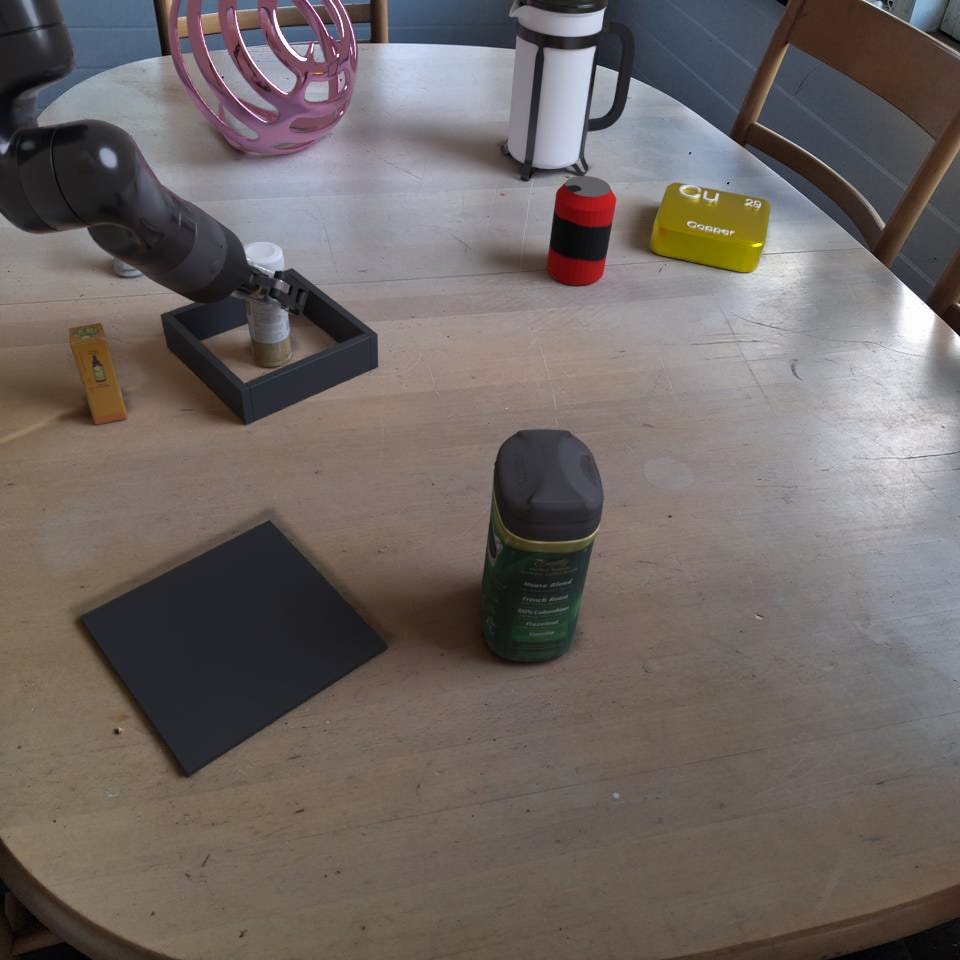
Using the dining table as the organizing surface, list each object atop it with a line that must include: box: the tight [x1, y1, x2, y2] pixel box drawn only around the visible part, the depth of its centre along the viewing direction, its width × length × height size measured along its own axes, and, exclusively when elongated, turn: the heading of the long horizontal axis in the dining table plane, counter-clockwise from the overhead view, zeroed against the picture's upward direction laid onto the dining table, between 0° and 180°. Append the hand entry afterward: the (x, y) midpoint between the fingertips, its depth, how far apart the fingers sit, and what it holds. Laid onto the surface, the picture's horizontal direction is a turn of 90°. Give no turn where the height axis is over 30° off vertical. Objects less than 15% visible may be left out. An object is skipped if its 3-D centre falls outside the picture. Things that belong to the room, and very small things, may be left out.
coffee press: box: [499, 0, 636, 182], centre depth 134 cm, size 17×16×30 cm
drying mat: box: [79, 519, 389, 778], centre depth 74 cm, size 18×18×1 cm
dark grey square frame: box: [160, 267, 379, 426], centre depth 101 cm, size 17×17×4 cm
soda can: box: [546, 175, 617, 287], centre depth 116 cm, size 8×8×12 cm
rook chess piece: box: [112, 257, 145, 279], centre depth 111 cm, size 4×4×8 cm
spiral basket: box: [167, 0, 359, 155], centre depth 135 cm, size 28×28×27 cm
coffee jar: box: [479, 428, 605, 663], centre depth 71 cm, size 10×8×19 cm
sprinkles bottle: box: [243, 241, 293, 368], centre depth 98 cm, size 5×5×13 cm
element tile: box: [649, 182, 772, 273], centre depth 127 cm, size 15×15×5 cm
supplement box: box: [68, 322, 128, 426], centre depth 90 cm, size 3×3×10 cm
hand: (262, 297), depth 96 cm, fingers open, 8 cm apart
